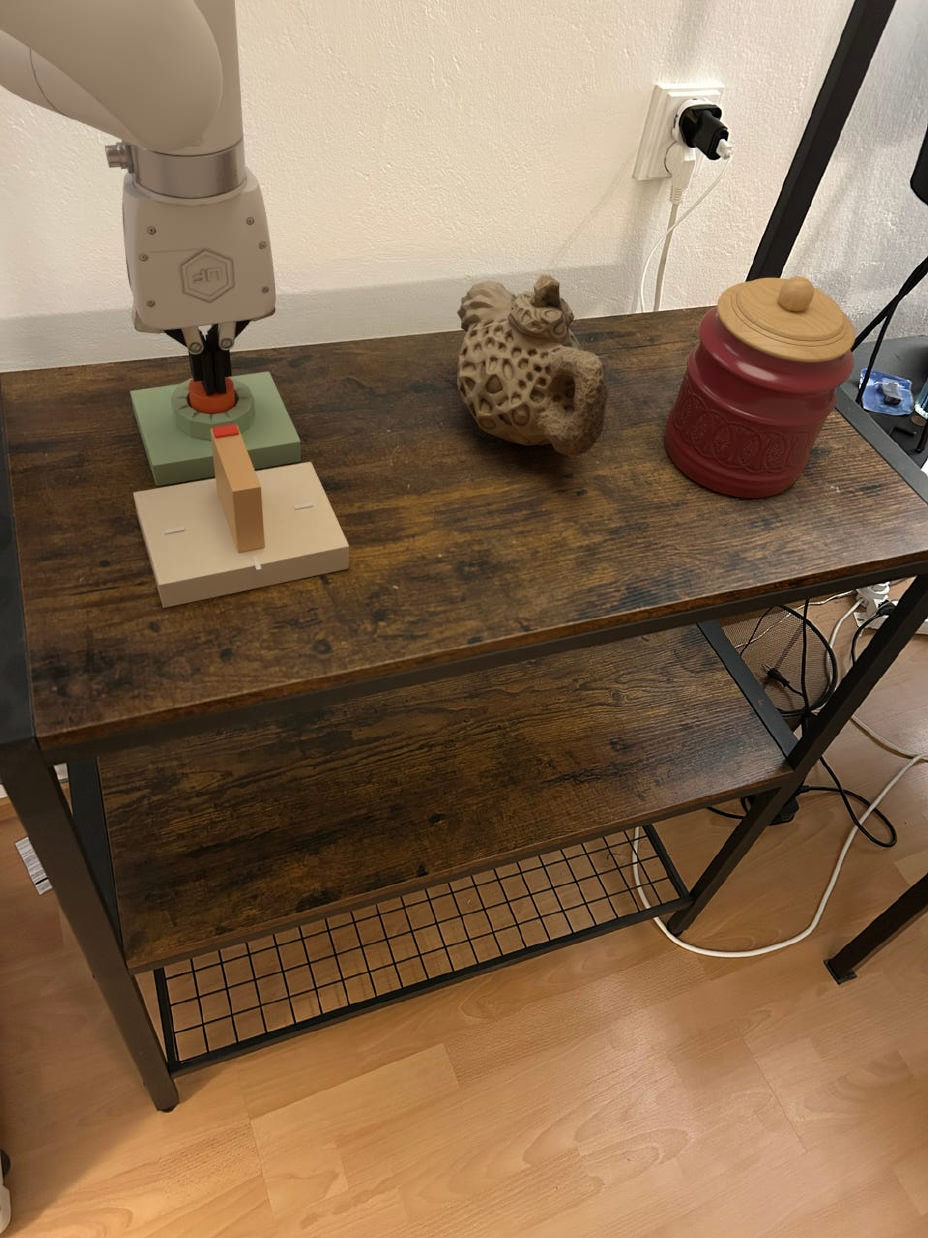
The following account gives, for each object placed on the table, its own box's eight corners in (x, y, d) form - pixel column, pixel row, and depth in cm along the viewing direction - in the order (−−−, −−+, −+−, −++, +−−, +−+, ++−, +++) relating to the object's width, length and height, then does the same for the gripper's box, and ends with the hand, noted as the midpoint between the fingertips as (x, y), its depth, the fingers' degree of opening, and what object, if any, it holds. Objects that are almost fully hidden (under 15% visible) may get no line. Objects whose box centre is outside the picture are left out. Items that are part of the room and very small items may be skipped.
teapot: (411, 376, 92) (424, 224, 80) (517, 354, 96) (543, 206, 85) (521, 524, 80) (554, 370, 69) (635, 491, 84) (684, 342, 73)
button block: (156, 486, 78) (149, 447, 75) (133, 411, 84) (126, 372, 81) (301, 461, 82) (300, 423, 79) (270, 391, 88) (268, 353, 85)
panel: (164, 614, 70) (160, 589, 68) (136, 510, 76) (131, 485, 74) (351, 574, 74) (352, 549, 72) (309, 479, 81) (309, 455, 79)
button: (195, 419, 79) (193, 401, 77) (186, 393, 81) (184, 375, 79) (240, 412, 80) (238, 395, 78) (229, 386, 82) (228, 369, 81)
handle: (264, 547, 72) (260, 483, 67) (238, 552, 71) (232, 488, 66) (242, 485, 76) (237, 421, 71) (216, 490, 75) (209, 425, 70)
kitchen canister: (635, 424, 90) (689, 247, 77) (745, 399, 95) (814, 228, 82) (713, 515, 83) (788, 337, 70) (829, 484, 88) (919, 312, 75)
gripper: (80, 194, 61) (126, 427, 75) (311, 176, 65) (314, 398, 79) (63, 140, 65) (109, 370, 79) (281, 127, 70) (289, 346, 84)
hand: (212, 384), depth 79 cm, fingers closed
